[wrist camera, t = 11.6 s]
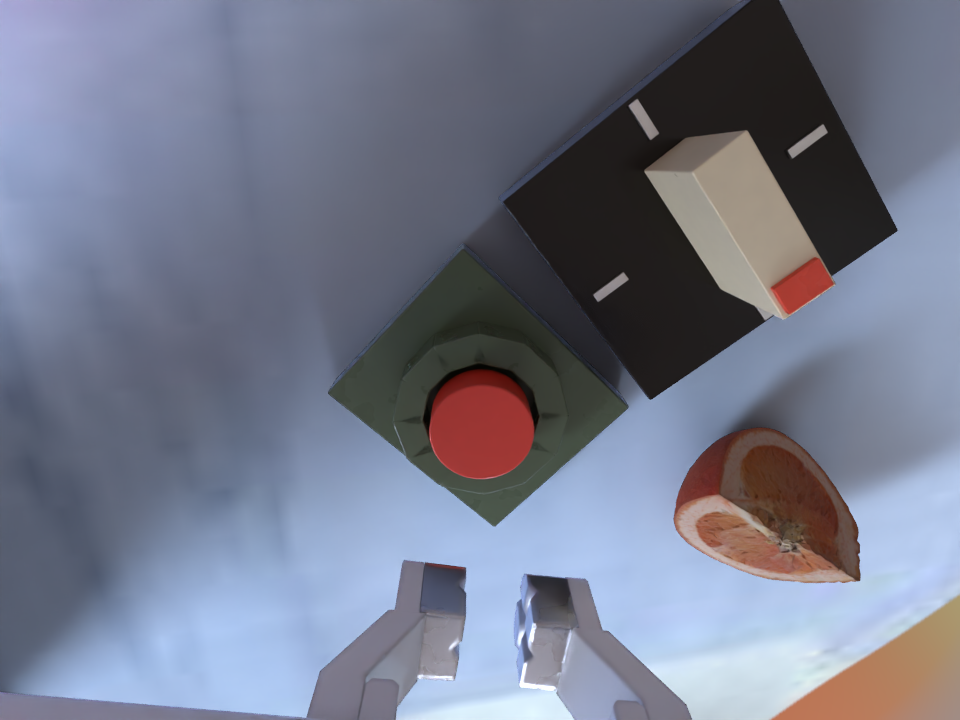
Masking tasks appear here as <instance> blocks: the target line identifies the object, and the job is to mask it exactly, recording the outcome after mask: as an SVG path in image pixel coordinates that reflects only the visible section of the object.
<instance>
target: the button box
mask: <svg viewBox="0 0 960 720" xmlns="http://www.w3.org/2000/svg"><path fill="white" fill-rule="evenodd" d="M476 369H487V370H493V371H497V372H500V373H502V374H504V375H506V376H508V377H510V378H511V379H512V380H514V381H515V382H516V383H517V384H518V385H519V386H520V387H521V389H522V390H523V391H524V393H525V395H526V397H527V400H528V403H529V407H530V410H531V414H532V418H533V423H534V439H533V444H532V446H531V449H530V451H529V453H528V454H527V456H526V457H525V459H524V460H523V461H522V462H521V463H520V464H519V465H518V466H517V467H516V468H514V469H513V470H511V471H510V472H508V473H506V474H504V475H501V476H498V477H495V478H490V479H473V478H468V477H464V476H461V475H459V474H456V473H455V472H453V471H451V470H450V469H448V468H447V467H446V466H445V465H444V464H443V463H441V461H440V460H439V459H438V458H437V456H436V455H435V453H434V451H433V449H432V446H431V443H430V437H429V427H430V420H431V412H432V406H433V402H434V399H435V397H436V395H437V393H438V392H439V390H440V389H441V388H442V386H443V385H444V384H445V383H446V382H447V381H449V380H450V379H451V378H453V377H454V376H456V375H458V374H460V373H463V372H466V371H470V370H476ZM328 394H329V395H330V396H332V397H333V398H334V399H335V400H337V401H338V402H339V403H340V404H342V405H343V406H344V407H345V408H346V409H348V410H349V411H350V412H351V413H353V414H354V415H355V416H356V417H358V418H359V419H360V420H361V421H363V422H364V423H365V424H366V425H368V426H369V427H370V428H371V429H373V430H374V431H375V432H376V433H378V434H379V435H380V436H381V437H383V438H384V439H385V440H386V441H388V442H389V443H390V444H391V445H393V446H394V447H395V448H396V449H398V450H399V451H400V452H401V453H403V454H404V455H405V456H406V458H407V459H408V460H409V461H410V462H411V463H412V464H414V465H415V466H416V467H417V468H419V469H420V470H421V471H422V472H424V473H425V474H426V475H427V476H429V477H430V478H431V479H432V480H434V481H435V482H436V483H437V484H439V485H441V486H442V487H445V488H446V489H447V490H449V491H450V492H451V493H452V494H454V495H455V496H456V497H457V498H459V499H460V500H461V501H462V502H464V503H465V504H466V505H467V506H469V507H470V508H471V509H472V510H474V511H475V512H476V513H477V514H479V515H480V516H481V517H482V518H484V519H485V520H486V521H487V522H489V523H490V524H491V525H492V526H496V525H497V524H498V523H499V522H500V521H502V520H503V519H504V518H505V517H506V516H507V515H508V514H509V513H511V512H512V511H513V510H514V509H515V508H516V507H517V506H518V505H520V504H521V503H522V502H523V501H524V500H525V499H526V498H527V497H529V496H530V495H531V494H532V493H533V492H534V491H535V490H536V489H538V488H539V487H540V486H541V485H542V484H543V483H544V482H545V481H547V480H548V479H549V478H550V477H551V476H552V475H553V474H554V473H556V472H557V471H558V470H559V469H560V468H561V467H562V466H563V465H565V464H566V463H567V462H568V461H569V460H570V459H571V458H572V457H574V456H575V455H576V454H577V453H578V452H579V451H580V450H581V449H583V448H584V447H585V446H586V445H587V444H588V443H589V442H590V441H592V440H593V439H594V438H595V437H596V436H597V435H598V434H599V433H601V432H602V431H603V430H604V429H605V428H606V427H607V426H608V425H610V424H611V423H612V422H613V421H614V420H615V419H616V418H617V417H619V416H620V415H621V414H622V413H623V412H624V411H625V410H626V409H628V407H629V406H628V405H627V403H626V402H625V400H624V399H623V397H622V396H621V394H620V393H619V391H618V390H616V389H615V388H614V387H613V386H612V385H611V384H610V383H609V382H608V381H607V380H606V379H605V378H604V377H603V376H602V375H601V374H600V373H599V372H598V371H597V370H596V369H595V368H594V367H592V366H591V365H590V364H589V363H588V362H587V361H586V360H585V359H584V358H583V357H582V356H581V355H580V354H579V353H578V352H577V351H576V350H575V349H574V348H573V347H572V346H571V345H570V344H568V343H567V342H566V341H565V340H564V339H563V338H562V337H561V336H560V335H559V334H558V333H557V332H556V331H555V330H554V329H553V328H552V327H551V326H550V325H549V324H548V323H547V322H545V321H544V320H543V319H542V318H541V317H540V316H539V315H538V314H537V313H536V312H535V311H534V310H533V309H532V308H531V307H530V306H529V305H528V304H527V303H526V302H525V301H524V300H523V299H521V298H520V297H519V296H518V295H517V294H516V293H515V292H514V291H513V290H512V289H511V288H510V287H509V286H508V285H507V284H506V283H505V282H504V281H503V280H502V279H501V278H500V277H499V276H497V275H496V274H495V273H494V272H493V271H492V270H491V269H490V268H489V267H488V266H487V265H486V264H485V263H484V262H483V261H482V260H481V259H480V258H479V257H478V256H477V255H476V254H474V253H473V252H472V251H471V250H470V249H469V248H468V247H467V246H466V245H465V244H461V246H460V247H459V248H458V249H457V250H456V251H455V252H454V253H453V254H452V255H451V256H450V257H449V258H448V259H447V261H446V262H445V263H444V264H443V265H442V266H441V267H440V268H439V269H438V270H437V271H436V272H435V273H434V274H433V276H432V277H431V278H430V279H429V280H428V281H427V282H426V283H425V284H424V285H423V286H422V287H421V288H420V289H419V291H418V292H417V293H416V294H415V295H414V296H413V297H412V298H411V299H410V300H409V301H408V302H407V303H406V304H405V306H404V307H403V308H402V309H401V310H400V311H399V312H398V313H397V314H396V315H395V316H394V317H393V318H392V319H391V321H390V322H389V323H388V324H387V325H386V326H385V327H384V328H383V329H382V330H381V331H380V332H379V333H378V335H377V336H376V337H375V338H374V339H373V340H372V341H371V342H370V343H369V344H368V345H367V346H366V347H365V348H364V350H363V351H362V352H361V353H360V354H359V355H358V356H357V357H356V358H355V359H354V360H353V361H352V362H351V363H350V365H349V366H348V367H347V368H346V369H345V370H344V371H343V372H342V373H341V374H340V375H339V376H338V377H337V378H336V380H335V382H334V383H333V385H332V387H331V388H330V390H329V392H328Z"/></svg>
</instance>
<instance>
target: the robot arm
mask: <svg viewBox="0 0 960 720" xmlns="http://www.w3.org/2000/svg"><path fill="white" fill-rule="evenodd" d="M465 582H466V568H465V567H457V566H450V565H442V564H434V563H426V562H425V565H424V563H423V562H416V561H407V560H404V561H403V563H402V568H401V575H400V581H399V587H398V593H397V600H396V606H395V610H388V611H387V612H386V613H385V614H383V615H382V616H381V617H380V618H379V619H378V620H377V621H376V622H374V623H373V624H372V625H371V626H370V627H369V628H368V629H367V630H366V631H364V632H363V633H362V634H361V635H360V636H359V637H358V638H357V639H356V640H354V641H353V642H352V643H351V644H350V645H349V646H348V647H347V648H345V649H344V650H343V651H342V652H341V653H340V654H339V655H338V656H337V657H335V658H334V659H333V660H332V661H331V662H330V663H329V664H328V665H327V666H325V667H324V668H323V669H322V670H321V671H320V673H319V677H318V680H317V683H316V687H315V690H314V694H313V697H312V700H311V704H310V707H309V711H308V714H307V717H306V718H302V717H290V716H278V715H266V714H254V713H242V712H230V711H218V710H206V709H195V708H183V707H171V706H159V705H147V704H135V703H123V702H111V701H99V700H87V699H75V698H63V697H51V696H39V695H28V694H16V693H4V692H0V720H395V719H396V711H397V707H398V705H399V704H400V703H401V701H402V700H403V699H404V697H405V696H406V695H407V693H408V692H409V691H410V689H411V688H412V687H413V685H414V684H415V683H416V682H417V679H430V680H447V681H455V676H456V671H457V665H458V660H459V643H460V642H461V641H462V637H463V630H464V624H465V618H466V593H465V591H464V588H465ZM520 588H521V597H522V599H521V600H519V601H518V602H517V607H516V612H515V621H514V639H515V646H516V647H517V648H518V649H519V653H518V658H517V668H518V677H519V686H520V687H526V688H534V689H542V690H551V691H557V692H556V693H557V695H558V696H559V698H560V699H561V701H562V702H563V703H564V705H565V706H566V708H567V709H568V711H569V712H570V713H571V715H572V716H573V718H574V719H575V720H692V718H691V715H690V713H689V710H688V708H687V706H686V704H685V703H684V702H683V701H682V700H681V699H680V698H679V697H678V696H677V695H675V694H674V693H673V692H672V691H671V690H670V689H669V688H668V687H667V686H666V685H665V684H664V683H663V682H662V681H661V680H660V679H659V678H657V677H656V676H655V675H654V674H653V673H652V672H651V671H650V670H649V669H648V668H647V667H646V666H645V665H644V664H643V663H642V662H641V661H639V660H638V659H637V658H636V657H635V656H634V655H633V654H632V653H631V652H630V651H629V650H628V649H627V648H626V647H625V646H624V645H623V644H622V643H620V642H619V641H618V640H617V639H616V638H615V637H614V636H613V635H612V634H611V633H610V632H609V631H603V630H602V627H601V624H600V620H599V617H598V614H597V610H596V607H595V604H594V600H593V597H592V594H591V591H590V587H589V584H588V581H587V580H586V579H581V578H569V577H565V578H562V577H552V576H542V575H532V574H524V576H523V578H522V582H521V587H520Z"/></svg>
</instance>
